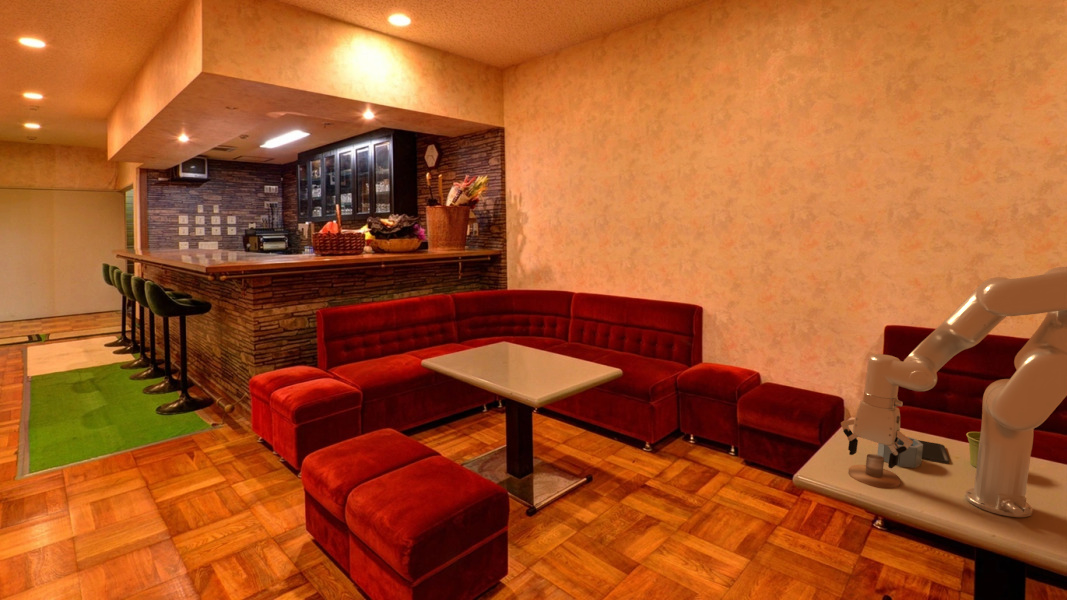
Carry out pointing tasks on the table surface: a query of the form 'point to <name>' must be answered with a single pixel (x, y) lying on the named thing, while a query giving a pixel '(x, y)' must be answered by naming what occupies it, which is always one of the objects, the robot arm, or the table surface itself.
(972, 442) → the plant pot
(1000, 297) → the robot arm
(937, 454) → the phone
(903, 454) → the bowl
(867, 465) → the lid
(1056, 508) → the table surface
